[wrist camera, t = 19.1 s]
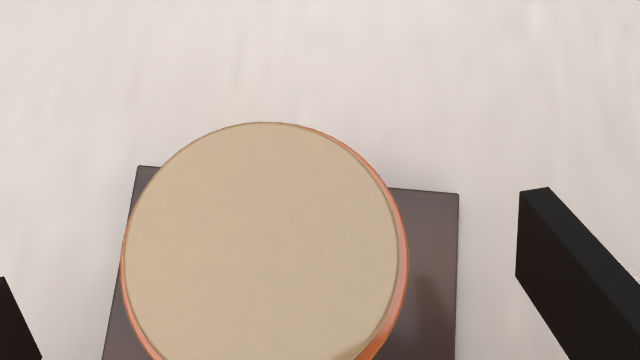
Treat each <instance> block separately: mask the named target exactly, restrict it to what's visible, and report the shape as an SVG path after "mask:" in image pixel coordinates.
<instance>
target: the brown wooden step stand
mask: <svg viewBox="0 0 640 360" xmlns="http://www.w3.org/2000/svg"><path fill="white" fill-rule="evenodd" d="M160 168H161V167H153V166H142V165H139V166H138V167H137V172H136V177H135V183H134V188H133V193H132V199H131V204H130V210H129V215H128V220H127V223H128V221H129V218H130V216H131V213H132V211H133V208H134V206H135V204H136V203H137V201H138V199H139V197H140V195H141V193H142V192H143V190H144V188H145V187H146V186H147V184H148V183H149V182H150V180H151V179H152V177H153V176H154V175H155V173H156V172H157V171H158V170H159V169H160ZM387 188H388V190H389V191H390V193H391V195H392V197H393V198H394V201H395V203H396V205H397V208H398V210H399V212H400V215H401V218H402V222H403V225H404V229H405V232H406V239H407V246H408V278H407V286H406V291H405V295H404V299H403V303H402V307H401V310H400V312H399V315H398V317H397V320H396V322H395V325H394V327H393V328H392V330H391V332H390V334H389V335H388V337H387V339H386V341H385V342H384V344H383V345H382V346H381V348H380V349H379V350H378V352H377V353H376V354H375V356H374V357H373V358H372V359H371V360H455V327H456V291H457V255H458V219H459V194H457V193H446V192H434V191H423V190H412V189H401V188H389V187H387ZM126 227H127V226H126ZM102 360H153V359H152V358H151V357H150V356H149V354H148V353H147V352H146V350H145V349H144V347H143V346H142V344H141V342H140V341H139V339H138V338H137V336H136V334H135V332H134V329H133V327H132V325H131V323H130V320H129V318H128V315H127V311H126V308H125V304H124V301H123V295H122V289H121V282H120V263H119V269H118V274H117V280H116V285H115V290H114V296H113V301H112V307H111V312H110V317H109V323H108V328H107V334H106V339H105V344H104V350H103V355H102Z"/></svg>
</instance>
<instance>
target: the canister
mask: <svg viewBox="0 0 640 360" xmlns="http://www.w3.org/2000/svg"><path fill="white" fill-rule="evenodd" d="M407 278H408V246H407V239H406V232H405V229H404V225H403V222H402V218H401V215H400V212H399V210H398V208H397V205H396V203H395V201H394V198H393V197H392V195H391V193H390V191H389V190H388V188H387V186H386V185H385V183H384V182H383V180H382V179H381V178H380V177H379V175H378V174H377V173H376V171H375V170H374V169H373V168H372V167H371V166H370V165H369V164H368V163H367V162H366V161H365V160H364V159H363V158H362V157H361V156H360V155H359V154H357V153H356V152H355V151H353V150H352V149H351V148H349V147H348V146H347V145H345V144H343V143H342V142H340V141H338V140H336V139H335V138H333V137H331V136H329V135H326V134H324V133H322V132H319V131H317V130H314V129H311V128H307V127H304V126H300V125H295V124H288V123H282V122H252V123H243V124H238V125H234V126H229V127H225V128H222V129H220V130H217V131H214V132H211V133H209V134H207V135H205V136H203V137H201V138H199V139H197V140H195V141H193V142H192V143H190V144H188V145H187V146H185V147H184V148H182V149H181V150H180V151H178V152H177V153H176V154H175V155H174V156H172V157H171V158H170V159H169V160H168V161H167V162H166V163H165V164H164V165H163V166H162V167H161V168H160V169H159V170H158V171H157V172H156V173H155V175H154V176H153V177H152V179H151V180H150V182H149V183H148V184H147V186H146V187H145V188H144V190H143V192H142V193H141V195H140V197H139V199H138V201H137V203H136V204H135V206H134V208H133V211H132V213H131V216H130V218H129V221H128V223H127V227H126V231H125V234H124V238H123V242H122V250H121V258H120V282H121V289H122V295H123V301H124V304H125V308H126V311H127V315H128V318H129V320H130V323H131V325H132V327H133V329H134V332H135V334H136V336H137V338H138V339H139V341H140V342H141V344H142V346H143V347H144V349H145V350H146V352H147V353H148V354H149V356H150V357H151V358H152V359H153V360H371V359H372V358H373V357H374V356H375V354H376V353H377V352H378V350H379V349H380V348H381V346H382V345H383V344H384V342H385V341H386V339H387V337H388V335H389V334H390V332H391V330H392V328H393V327H394V325H395V322H396V320H397V317H398V315H399V312H400V310H401V307H402V303H403V299H404V295H405V291H406V286H407Z"/></svg>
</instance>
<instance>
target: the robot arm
mask: <svg viewBox="0 0 640 360" xmlns="http://www.w3.org/2000/svg"><path fill="white" fill-rule="evenodd" d="M515 277H516V278H517V280H518V281H519V283H520V284H521V286H522V287H523V289H524V290H525V292H526V293H527V295H528V296H529V298H530V299H531V301H532V303H533V304H534V306H535V307H536V309H537V310H538V312H539V313H540V315H541V316H542V318H543V319H544V321H545V322H546V324H547V325H548V327H549V329H550V330H551V332H552V333H553V335H554V336H555V338H556V339H557V341H558V342H559V344H560V345H561V347H562V348H563V350H564V351H565V353H566V354H567V356H568V358H569V359H570V360H640V285H639V284H638V282H637V281H636V280H635V279H634V278H633V277H632V276H631V275H630V274H629V273H628V272H627V271H626V270H625V268H624V267H623V266H622V265H621V264H620V263H619V262H618V261H617V260H616V259H615V258H614V257H613V256H612V255H611V253H610V252H609V251H608V250H607V249H606V248H605V247H604V246H603V245H602V244H601V243H600V242H599V241H598V239H597V238H596V237H595V236H594V235H593V234H592V233H591V232H590V231H589V230H588V229H587V228H586V227H585V226H584V224H583V223H582V222H581V221H580V220H579V219H578V218H577V217H576V216H575V215H574V214H573V213H572V212H571V210H570V209H569V208H568V207H567V206H566V205H565V204H564V203H563V202H562V201H561V200H560V199H559V198H558V197H557V195H556V194H555V193H554V192H553V191H552V190H551V189H550V188H549V187H545V188H539V189H532V190H526V191H520V195H519V214H518V233H517V251H516V270H515ZM41 359H42V355H41V353H40V351H39V349H38V347H37V345H36V343H35V341H34V339H33V336H32V334H31V332H30V330H29V328H28V326H27V324H26V322H25V320H24V317H23V315H22V313H21V311H20V309H19V307H18V305H17V303H16V301H15V298H14V296H13V294H12V292H11V290H10V288H9V286H8V284H7V282H6V279H5V277H4V276H3V277H0V360H41Z"/></svg>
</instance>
